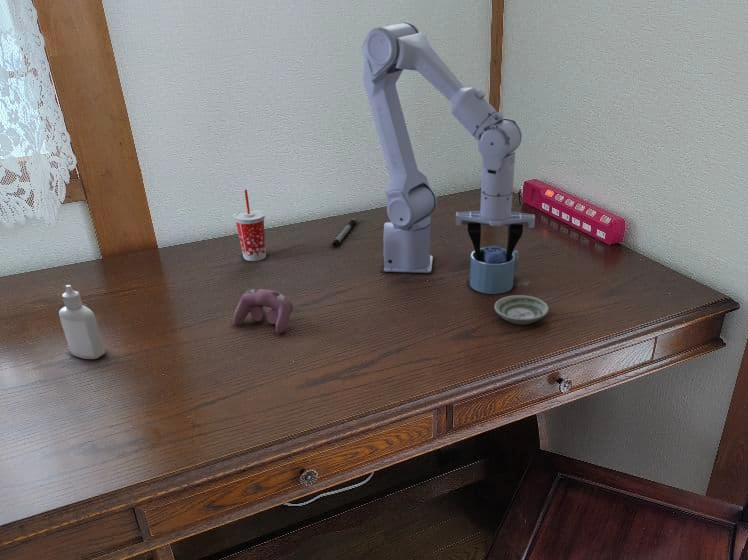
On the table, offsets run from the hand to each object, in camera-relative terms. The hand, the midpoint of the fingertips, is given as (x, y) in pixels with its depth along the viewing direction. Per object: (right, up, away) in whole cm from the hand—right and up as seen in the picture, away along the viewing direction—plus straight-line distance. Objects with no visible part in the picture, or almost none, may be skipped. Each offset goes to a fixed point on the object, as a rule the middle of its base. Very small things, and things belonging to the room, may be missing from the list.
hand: (492, 261), depth 140 cm
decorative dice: (0, -1, +1) cm, 2 cm away
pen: (-31, +11, +23) cm, 40 cm away
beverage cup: (-49, +3, +12) cm, 50 cm away
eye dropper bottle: (-67, -19, -22) cm, 73 cm away
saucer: (+4, -12, -9) cm, 16 cm away
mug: (+1, -3, +4) cm, 5 cm away
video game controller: (-41, -13, -12) cm, 45 cm away
